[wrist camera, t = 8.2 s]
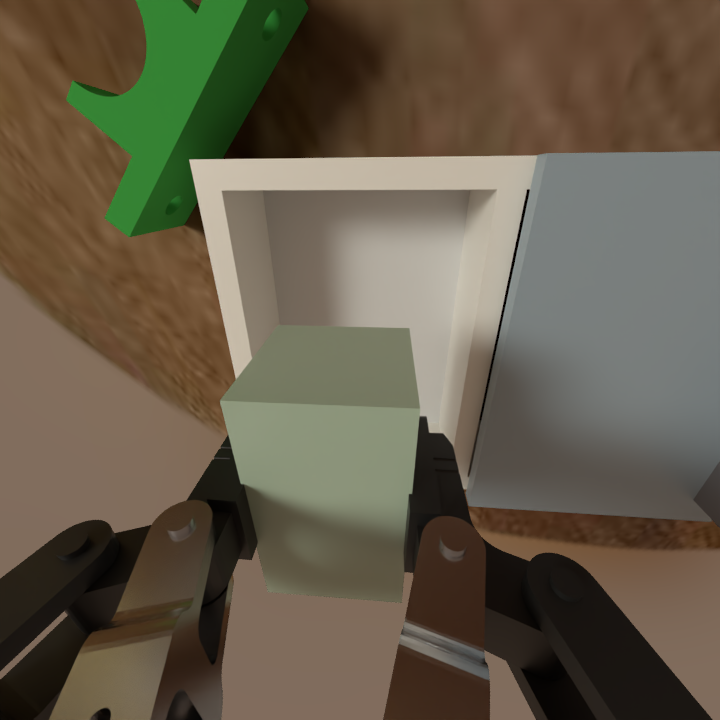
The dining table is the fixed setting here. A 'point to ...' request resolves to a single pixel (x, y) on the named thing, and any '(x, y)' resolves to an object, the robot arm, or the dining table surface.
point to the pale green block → (328, 457)
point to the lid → (610, 343)
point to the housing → (372, 260)
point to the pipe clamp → (186, 99)
